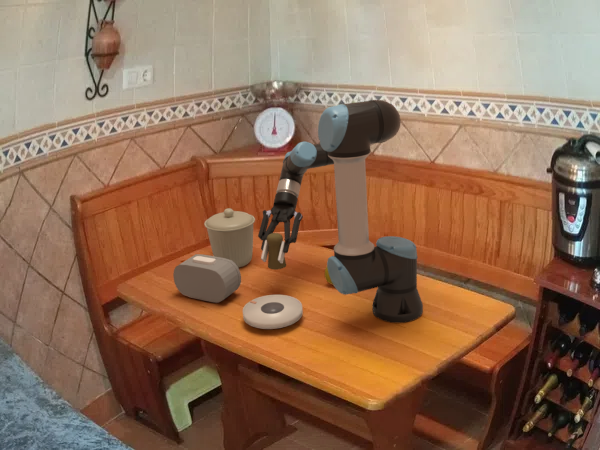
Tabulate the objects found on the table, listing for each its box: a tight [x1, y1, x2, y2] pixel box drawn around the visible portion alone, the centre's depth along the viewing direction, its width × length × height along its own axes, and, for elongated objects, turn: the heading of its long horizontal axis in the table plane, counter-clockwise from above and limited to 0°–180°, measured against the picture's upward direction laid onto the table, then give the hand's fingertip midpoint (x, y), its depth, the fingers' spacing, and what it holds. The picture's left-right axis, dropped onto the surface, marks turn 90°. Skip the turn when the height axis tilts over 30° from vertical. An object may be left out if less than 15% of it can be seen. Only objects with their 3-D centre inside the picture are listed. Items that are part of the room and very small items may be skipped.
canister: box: [203, 207, 256, 269], centre depth 244 cm, size 18×18×21 cm
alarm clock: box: [173, 253, 242, 304], centre depth 222 cm, size 21×10×13 cm, turn 61°
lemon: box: [324, 266, 334, 286], centre depth 225 cm, size 6×6×8 cm
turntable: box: [242, 294, 304, 330], centre depth 205 cm, size 18×18×2 cm
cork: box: [267, 232, 287, 271], centre depth 218 cm, size 6×6×11 cm
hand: (271, 260), depth 216 cm, fingers closed on cork, 5 cm apart
